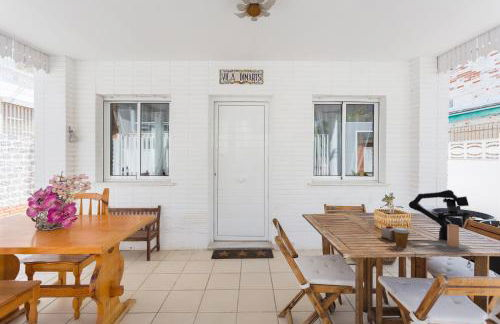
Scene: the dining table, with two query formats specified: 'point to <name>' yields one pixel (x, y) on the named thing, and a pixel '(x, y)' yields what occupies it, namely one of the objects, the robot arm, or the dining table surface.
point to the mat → (446, 245)
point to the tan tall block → (453, 235)
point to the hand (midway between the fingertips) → (454, 226)
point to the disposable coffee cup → (401, 236)
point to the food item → (388, 233)
